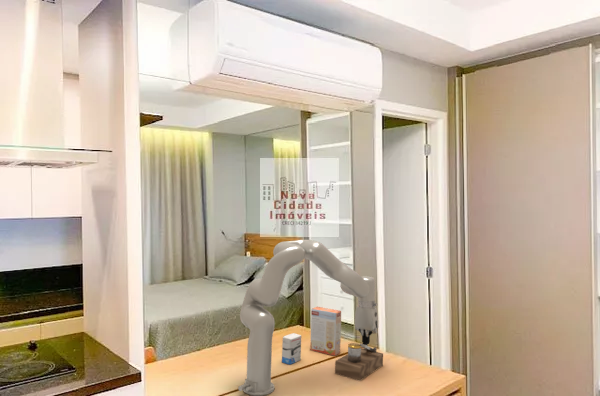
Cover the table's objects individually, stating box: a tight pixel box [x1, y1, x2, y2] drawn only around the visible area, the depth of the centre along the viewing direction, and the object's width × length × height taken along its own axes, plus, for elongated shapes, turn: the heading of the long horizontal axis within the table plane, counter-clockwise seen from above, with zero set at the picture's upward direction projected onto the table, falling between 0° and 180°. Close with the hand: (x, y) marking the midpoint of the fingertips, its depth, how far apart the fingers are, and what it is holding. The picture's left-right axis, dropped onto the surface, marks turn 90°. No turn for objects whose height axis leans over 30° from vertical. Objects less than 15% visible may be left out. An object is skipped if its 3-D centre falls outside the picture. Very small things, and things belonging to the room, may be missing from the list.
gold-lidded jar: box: [347, 342, 362, 363], centre depth 199 cm, size 6×6×12 cm
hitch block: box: [334, 344, 384, 382], centre depth 203 cm, size 22×12×8 cm, turn 144°
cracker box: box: [309, 306, 342, 356], centre depth 225 cm, size 14×6×21 cm, turn 58°
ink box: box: [281, 332, 302, 366], centre depth 211 cm, size 8×5×12 cm, turn 143°
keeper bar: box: [359, 343, 373, 352], centre depth 208 cm, size 10×3×1 cm, turn 145°
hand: (365, 344), depth 207 cm, fingers closed
